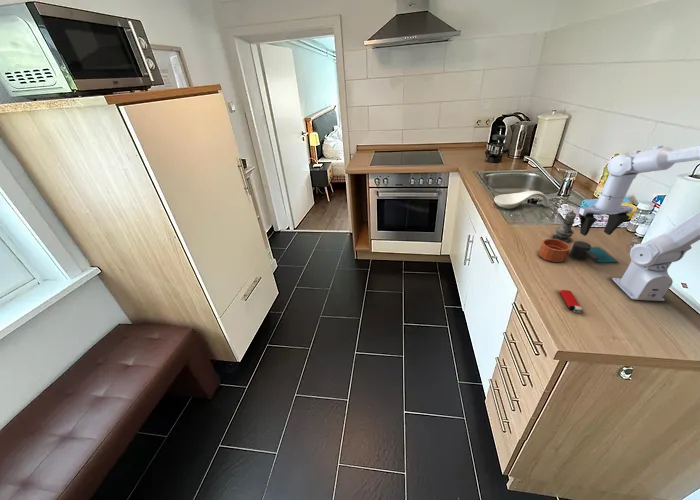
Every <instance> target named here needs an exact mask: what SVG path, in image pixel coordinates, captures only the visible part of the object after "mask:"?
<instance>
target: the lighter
mask: <svg viewBox="0 0 700 500" xmlns="http://www.w3.org/2000/svg"><path fill="white" fill-rule="evenodd" d="M559 293H560V295H561V297H562V298H563V300H564V302H565V304H566V305H567V307H568V309H569V310H570V311H573V312H574V313H575V314H576V313H577V314H581V313H583V312H584V310H583V308H582V307H581V305H580V304H579V302H578V300H577V299H576V297H575V296H574V294H573V292H572V291H571V290H568V289H567V290H566V289H561V290H560V291H559Z"/></svg>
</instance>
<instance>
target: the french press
mask: <svg viewBox="0 0 700 500" xmlns="http://www.w3.org/2000/svg"><path fill="white" fill-rule="evenodd" d="M497 127H498V128H500V131H499V134H493V135H492V141H493V142H491V143H488V144H487V148H486V152H485V153H486V154H485V158H486V159H487V160H486V162H487V163H490V164H500V163H502V162H503V154H504V151H505V147H506V143H505V142H503V141H506V140H507V138H508V135H506V134H501V133H502V130H503V128H506V126H505V125H499V126H497ZM500 141H501V142H500Z"/></svg>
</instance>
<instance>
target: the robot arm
mask: <svg viewBox="0 0 700 500" xmlns="http://www.w3.org/2000/svg"><path fill="white" fill-rule="evenodd" d="M694 161H695V162H696V161H700V145H695V146H690V147H685V148H681V149H673V148H672V147H670V146H664V145H656V146H653V147H652V149H648V150H642V151H641V150H634V151H633V152H632V153H627V154H617V155H615V156H613V157H612V158H611V159H610V160H609V161H608V162H607V168H606V169H607V171H608V173H609V174H608V176H607V178H606V180H605V182H604V185H603V187H602V190H601V192H600V194H599V197H598V199H597V201H596V202H595V203H594V205H590V206H584V207H580V208H579V211H578V216H579V222H580V228H579V229H580V230H579V233H580V235H582V236H583V237H584V236H585V237H586V236H588V234H589V232H590V230H591V228H592V226H593V225H594V224H595V223H596V222H597V221H598V219H597V218H596V217H595V215H608V218H607V222H606V224H605V227H604V229H603V233H605V234H606V235H607V236H611V235H612V234H613V232H615V231H616V229H617V228H618V227H620V226H621V225H622V224H623V223H625V222H627V221H628V220H629V219H630V215H631V214H632V213H633V210H634V208H633V207H632V206H630V205H622V204H623V202H624V200H625V198H626V195H627V193H628V191H629V190H630V187H631V185H632V183H633V181H634V180H636V178H637V176H638V175H639V174H643V173H651V172H652V173H653V172H657V171H666V170H669V169H670V168H672V167H673V166H674V165H675V164H678V163H686V162H694ZM698 241H700V210H698V211H696V212H695V213H694V214H692V215H691V216H689V217H688V218H687V219H685V220H683V221H681V222H680V223H679V224H677V225H676V226H675V227H673V228H672V229H670V230H668V231H666V233H665V232H664V234H661V235H658V236H656V237H653V238H651V239H649V240H648V241H646V242H641V243H637V244H635V245H633V246H632V247H631V248H630V251H629V257H630V259H631V260H630V262H629V264H628V266H627V268H626V270H625V272H624V274H623V275H622V277H612V278H611V280H612V281H613V282H614V283H615V284H616V285H617V286H618V287H619V288H620V289H621V290H622V291H623V292H624V293H625V294H626V295H627V296H628V297H629V298H630V299H632V300H633V301H656V302H664V301H665V300H666V299H665V298H664V296H665V295H666V293H667V292H668V291H669V290H670V288H671V286H672V285H673V282H674V281H673V279H672V277H671V276H670V275H669V273H668V269H669V268H670V266H671V265H672V264H673V263H675V262H678V261H680V260H682V259H683V258H684V256H685V254H686V253H687V252H688V251H689V250H691V249H692V245H694V244H695V243H696V242H698Z"/></svg>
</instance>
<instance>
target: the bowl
mask: <svg viewBox="0 0 700 500" xmlns="http://www.w3.org/2000/svg"><path fill="white" fill-rule="evenodd" d="M570 251H571V246H570V244H569V243H568V242H563V241H561V240H557V239H554V238H545V239H543V240H542V242H541V245H540V248H539V250H538V256H539V257H541V258H542V259H544V260H546V261H548V262H553V263H561V262H564V261H566V260H567V257H568V255H569V253H570Z"/></svg>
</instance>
